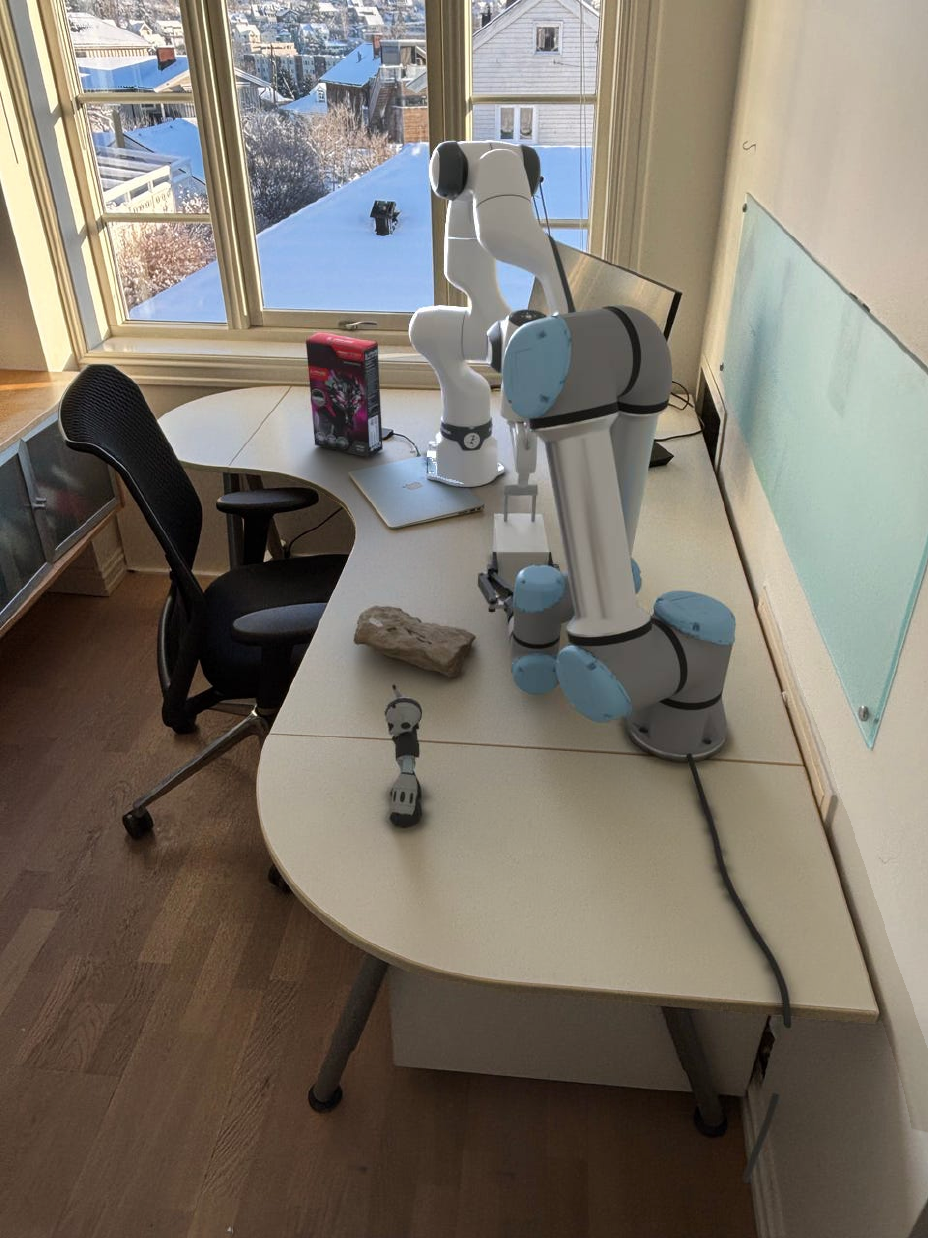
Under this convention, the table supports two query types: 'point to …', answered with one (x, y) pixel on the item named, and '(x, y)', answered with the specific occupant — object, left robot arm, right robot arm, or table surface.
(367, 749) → the table surface
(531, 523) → the lid
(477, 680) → the table surface
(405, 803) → the robot
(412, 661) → the stone
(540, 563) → the chest
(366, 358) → the graphics card box
